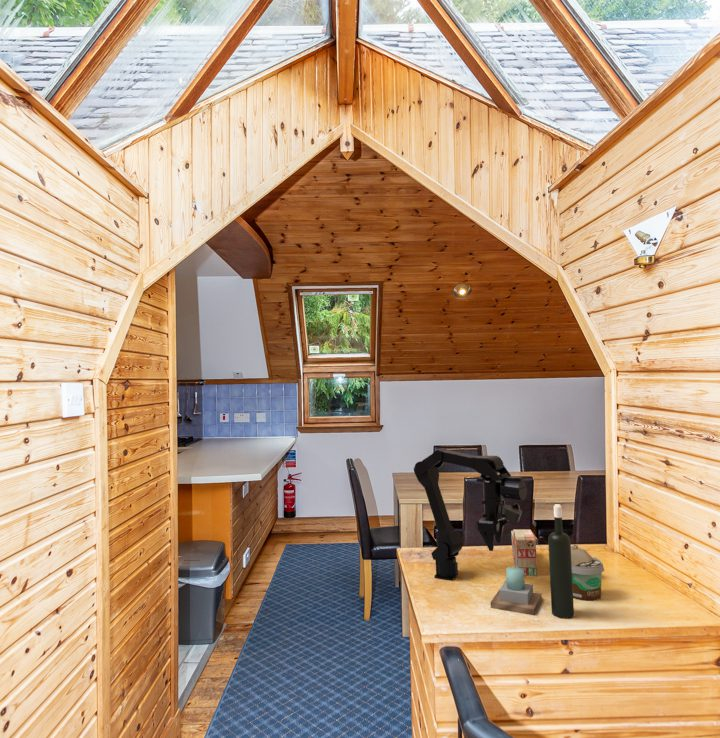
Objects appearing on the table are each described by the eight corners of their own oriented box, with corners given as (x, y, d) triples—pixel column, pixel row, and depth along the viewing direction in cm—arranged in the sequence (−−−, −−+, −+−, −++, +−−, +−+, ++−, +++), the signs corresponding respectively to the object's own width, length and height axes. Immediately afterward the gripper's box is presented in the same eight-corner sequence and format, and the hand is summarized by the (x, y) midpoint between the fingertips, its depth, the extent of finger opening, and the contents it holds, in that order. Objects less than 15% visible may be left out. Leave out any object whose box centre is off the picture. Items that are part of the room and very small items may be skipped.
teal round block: (505, 589, 152) (504, 571, 153) (508, 582, 157) (507, 566, 157) (523, 591, 150) (522, 573, 150) (525, 585, 155) (525, 568, 155)
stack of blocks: (512, 555, 196) (510, 522, 197) (529, 556, 195) (528, 522, 195) (518, 576, 175) (516, 539, 176) (537, 577, 174) (535, 539, 174)
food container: (586, 606, 150) (584, 570, 150) (568, 598, 155) (566, 564, 156) (614, 596, 156) (612, 562, 156) (596, 589, 161) (595, 556, 162)
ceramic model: (606, 577, 171) (604, 546, 172) (585, 585, 165) (583, 553, 165) (567, 566, 183) (566, 537, 183) (547, 573, 177) (546, 543, 177)
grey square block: (499, 600, 152) (499, 589, 152) (505, 590, 159) (505, 580, 159) (528, 604, 148) (527, 594, 148) (533, 594, 155) (532, 584, 155)
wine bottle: (562, 620, 142) (557, 508, 143) (547, 612, 147) (542, 503, 148) (578, 615, 144) (573, 505, 145) (562, 608, 149) (557, 501, 150)
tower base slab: (490, 611, 151) (490, 602, 151) (501, 595, 162) (500, 587, 162) (534, 618, 145) (533, 609, 145) (542, 602, 156) (541, 593, 156)
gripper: (512, 504, 154) (514, 558, 153) (525, 492, 170) (527, 541, 170) (474, 502, 159) (476, 554, 159) (490, 490, 176) (493, 537, 175)
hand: (495, 546), depth 166 cm, fingers open, 9 cm apart
